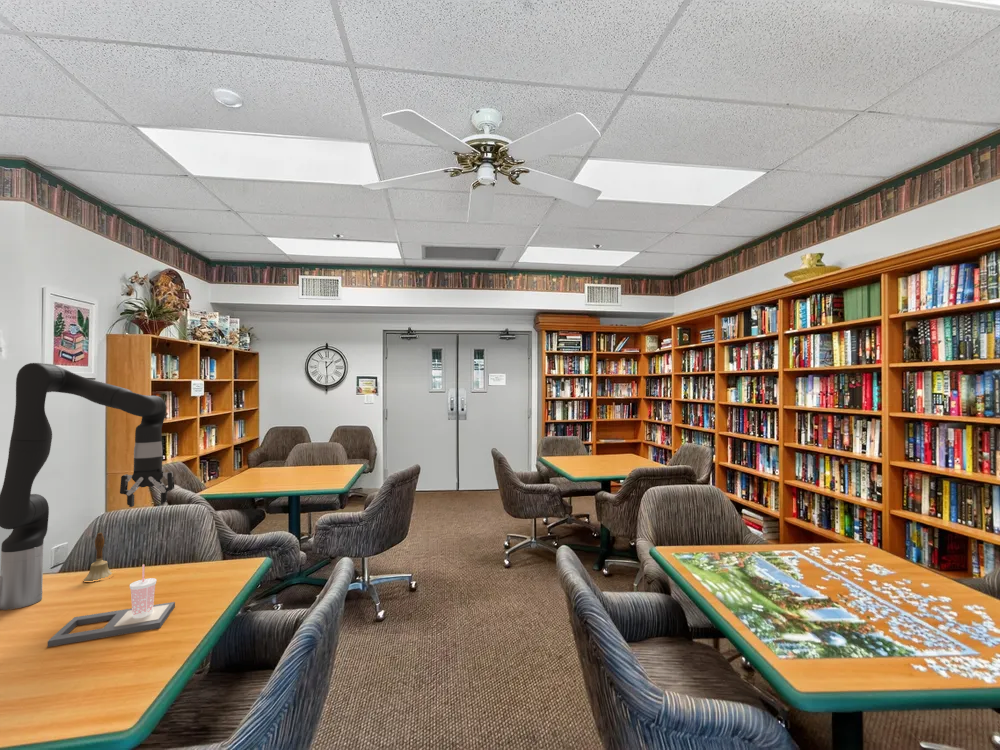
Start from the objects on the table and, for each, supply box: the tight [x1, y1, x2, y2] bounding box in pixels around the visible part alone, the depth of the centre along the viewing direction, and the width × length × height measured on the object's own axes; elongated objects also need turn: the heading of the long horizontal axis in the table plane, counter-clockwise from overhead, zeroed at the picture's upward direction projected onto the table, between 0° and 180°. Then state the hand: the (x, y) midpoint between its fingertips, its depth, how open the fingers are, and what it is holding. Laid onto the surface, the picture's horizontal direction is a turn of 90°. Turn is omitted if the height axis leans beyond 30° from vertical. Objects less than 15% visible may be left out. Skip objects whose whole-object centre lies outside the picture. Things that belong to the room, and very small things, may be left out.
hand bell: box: [83, 532, 113, 581], centre depth 165 cm, size 8×8×16 cm
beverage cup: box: [129, 563, 158, 618], centre depth 132 cm, size 6×6×14 cm
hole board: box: [47, 601, 176, 648], centre depth 129 cm, size 24×14×2 cm, turn 111°
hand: (147, 505), depth 153 cm, fingers open, 8 cm apart
